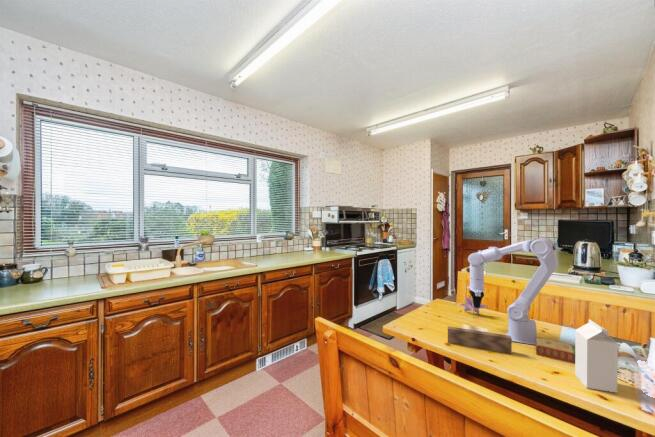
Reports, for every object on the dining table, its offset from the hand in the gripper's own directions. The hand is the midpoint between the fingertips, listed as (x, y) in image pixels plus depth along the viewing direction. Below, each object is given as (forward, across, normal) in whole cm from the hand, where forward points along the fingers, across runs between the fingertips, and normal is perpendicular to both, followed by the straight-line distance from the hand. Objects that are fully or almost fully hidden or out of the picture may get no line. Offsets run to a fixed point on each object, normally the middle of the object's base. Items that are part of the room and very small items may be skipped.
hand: (476, 307), depth 125 cm
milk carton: (+10, +32, +30) cm, 45 cm away
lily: (+10, -17, -1) cm, 19 cm away
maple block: (+10, +15, -2) cm, 18 cm away
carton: (+10, +16, +27) cm, 33 cm away
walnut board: (+9, +20, -1) cm, 22 cm away
